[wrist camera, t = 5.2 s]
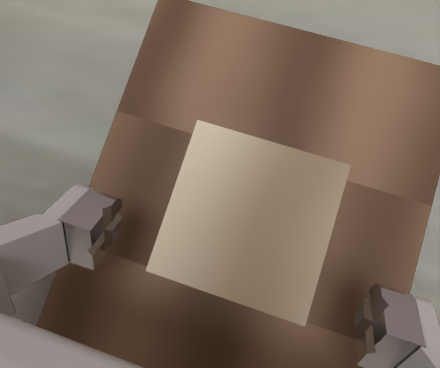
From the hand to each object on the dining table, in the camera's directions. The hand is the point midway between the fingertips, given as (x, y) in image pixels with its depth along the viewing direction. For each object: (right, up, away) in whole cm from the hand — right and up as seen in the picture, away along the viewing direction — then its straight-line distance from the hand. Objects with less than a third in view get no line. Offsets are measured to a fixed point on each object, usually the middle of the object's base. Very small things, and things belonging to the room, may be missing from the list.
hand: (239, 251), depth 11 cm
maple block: (+1, 0, +7) cm, 7 cm away
